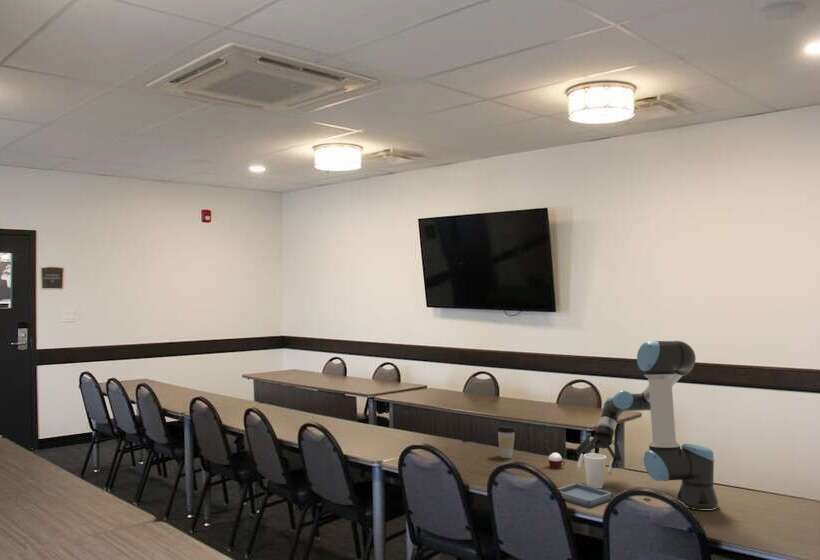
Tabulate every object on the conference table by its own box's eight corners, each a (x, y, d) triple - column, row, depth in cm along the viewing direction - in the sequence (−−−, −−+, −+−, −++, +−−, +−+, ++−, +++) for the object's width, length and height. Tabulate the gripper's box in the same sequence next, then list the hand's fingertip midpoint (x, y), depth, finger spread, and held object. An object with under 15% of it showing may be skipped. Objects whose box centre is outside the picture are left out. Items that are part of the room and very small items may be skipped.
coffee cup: (495, 458, 338) (495, 428, 338) (498, 453, 347) (498, 424, 347) (514, 459, 336) (514, 429, 336) (517, 455, 345) (517, 425, 345)
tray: (613, 499, 276) (613, 493, 276) (589, 507, 266) (589, 501, 266) (576, 488, 290) (576, 482, 290) (552, 496, 280) (552, 490, 280)
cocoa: (566, 468, 322) (567, 443, 322) (557, 470, 318) (559, 444, 318) (550, 463, 329) (551, 438, 329) (541, 465, 325) (543, 440, 325)
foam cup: (604, 483, 298) (604, 453, 298) (608, 489, 288) (608, 459, 288) (581, 482, 298) (582, 452, 298) (585, 489, 289) (585, 458, 289)
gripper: (635, 438, 301) (624, 480, 288) (581, 430, 315) (568, 470, 303) (632, 428, 296) (620, 470, 284) (577, 421, 311) (563, 461, 298)
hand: (593, 470), depth 293 cm, fingers open, 13 cm apart
